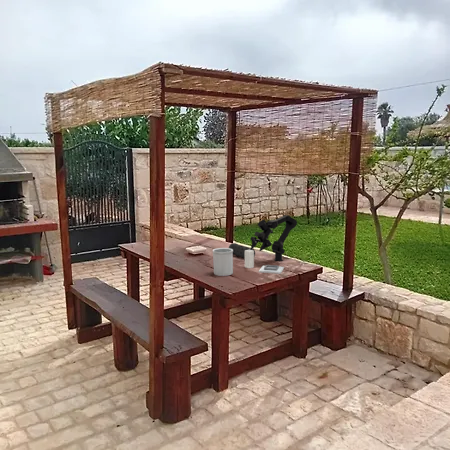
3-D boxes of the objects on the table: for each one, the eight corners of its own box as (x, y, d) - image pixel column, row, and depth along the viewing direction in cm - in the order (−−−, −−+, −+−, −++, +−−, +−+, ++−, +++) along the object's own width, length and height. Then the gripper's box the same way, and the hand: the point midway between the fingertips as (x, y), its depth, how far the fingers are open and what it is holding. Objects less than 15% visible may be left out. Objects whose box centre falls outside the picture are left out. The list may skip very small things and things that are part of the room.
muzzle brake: (246, 261, 349) (246, 248, 347) (227, 255, 372) (227, 243, 371) (255, 259, 354) (255, 247, 353) (236, 253, 377) (236, 242, 376)
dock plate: (263, 267, 329) (263, 263, 329) (283, 268, 325) (283, 264, 325) (258, 272, 314) (258, 268, 314) (280, 273, 310) (280, 270, 309)
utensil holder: (215, 277, 303) (215, 252, 300) (210, 271, 317) (210, 248, 314) (235, 275, 307) (235, 251, 304) (229, 270, 321) (229, 247, 318)
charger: (249, 266, 333) (249, 249, 331) (253, 267, 329) (253, 250, 327) (244, 267, 330) (244, 250, 328) (249, 268, 326) (249, 251, 324)
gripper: (251, 226, 340) (241, 242, 334) (269, 229, 326) (258, 245, 320) (258, 235, 346) (249, 250, 341) (276, 238, 332) (266, 254, 327)
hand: (255, 249), depth 332 cm, fingers open, 9 cm apart
